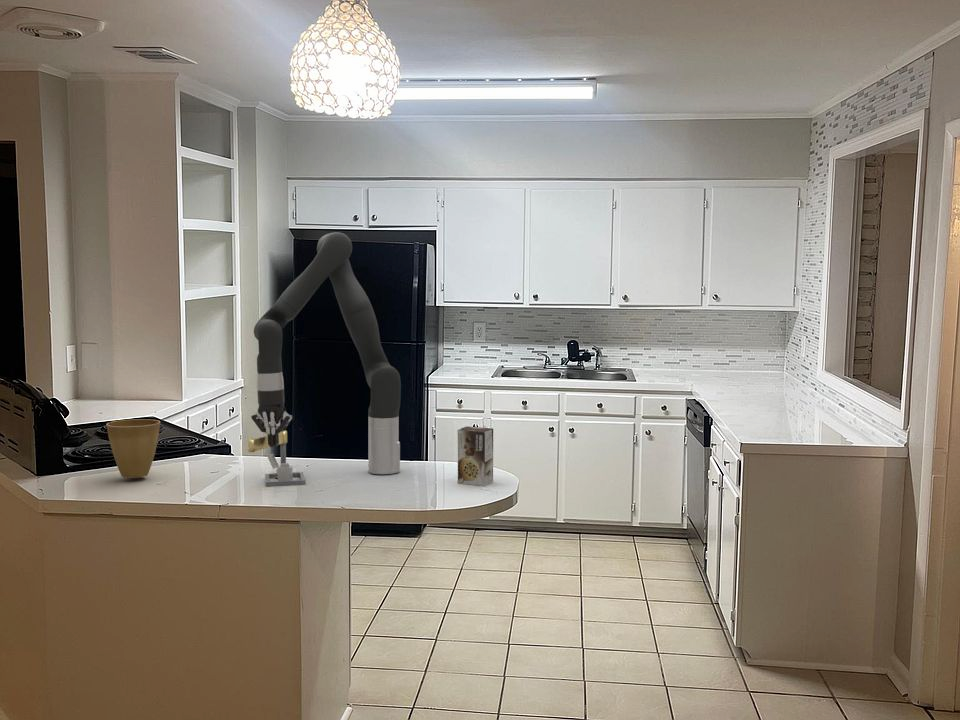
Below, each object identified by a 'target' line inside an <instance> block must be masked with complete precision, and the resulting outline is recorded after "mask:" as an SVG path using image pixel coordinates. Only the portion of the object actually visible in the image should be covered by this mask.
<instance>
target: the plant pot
mask: <svg viewBox="0 0 960 720" xmlns="http://www.w3.org/2000/svg"><path fill="white" fill-rule="evenodd" d="M105 426H106V429H107V431H106V432H107V436H108V440H109V444H110V448H111V452H112V456H113V457H114V462H115V464H116V466H117V469H118V471H119V473H120V476H121V477H122V478H126V479H133V478H134V479H135V478H142V477H147V476H148V475H149V473H150V470H151V467H152V465H153V461H154V458H155V454H156V450H157V446H158V441H159V434H160V427H161V421H160V420H157V419H150V418H149V419H146V418H145V419H144V418H143V419H142V418H141V419H140V418H139V419H135V418H134V419H123V420H121V419H120V420H116V421H110V422H107V423H106V425H105Z"/></svg>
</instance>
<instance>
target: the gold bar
mask: <svg viewBox="0 0 960 720" xmlns="http://www.w3.org/2000/svg"><path fill="white" fill-rule="evenodd" d="M282 443H286V444H287V443H288V431H287V430H284V431H283V432H280V433H279V444H278V445H277V446H279V445H280V444H282ZM247 444H248V450H247V451H248V453H255V452H258V451H261V450H265V449H268V448H271V447H270V446H269V445H268V435H267V434H265V435H261V436H257V437H254V438H250V439H249V438H248V443H247Z"/></svg>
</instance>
